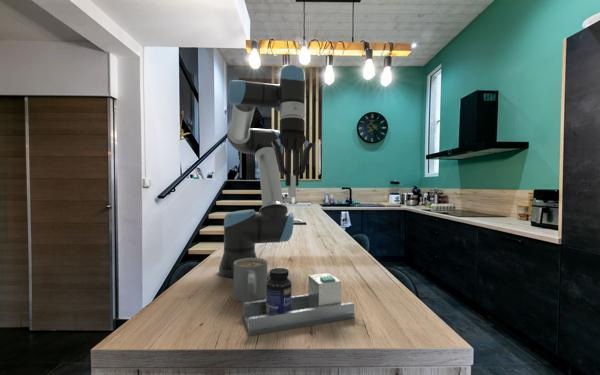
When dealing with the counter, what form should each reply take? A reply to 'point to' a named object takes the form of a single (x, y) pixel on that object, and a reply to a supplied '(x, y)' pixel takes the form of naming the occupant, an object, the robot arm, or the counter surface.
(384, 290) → the counter surface
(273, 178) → the robot arm
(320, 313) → the rail
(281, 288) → the pill bottle
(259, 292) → the coffee mug
